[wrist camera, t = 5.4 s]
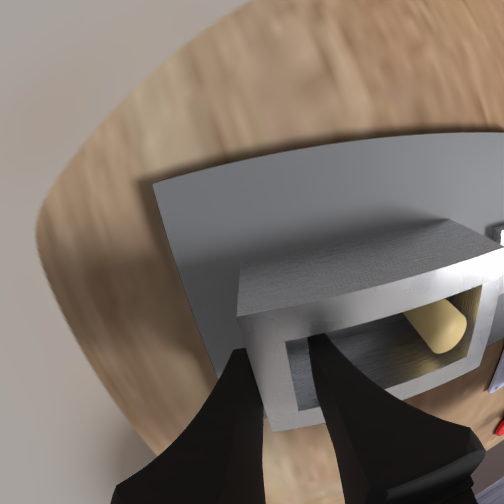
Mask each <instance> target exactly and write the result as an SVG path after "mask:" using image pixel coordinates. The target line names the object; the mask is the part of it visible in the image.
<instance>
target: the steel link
mask: <svg viewBox="0 0 504 504" xmlns="http://www.w3.org/2000/svg"><path fill="white" fill-rule="evenodd" d="M503 265H504V246H503V245H501V244H499V243H497V242H495V241H493V240H491V239H489V238H487V237H486V236H484V235H482V234H480V233H478V232H476V231H474V230H472V229H470V228H467V227H465V226H463V225H461V224H459V223H457V222H455V221H453V220H451V219H448V220H444V221H440V222H435V223H431V224H426V225H422V226H417V227H412V228H408V229H403V230H399V231H394V232H390V233H385V234H380V235H376V236H371V237H367V238H362V239H357V240H353V241H348V242H343V243H339V244H334V245H329V246H324V247H320V248H315V249H310V250H306V251H301V252H296V253H291V254H286V255H282V256H277V257H272V258H267V259H262V260H257V261H253V262H248V263H243V264H240V276H239V290H238V303H237V320H238V324H239V327H240V330H241V334H242V337H243V340H244V344H245V347H246V350H247V354H248V357H249V360H250V364H251V367H252V370H253V373H254V376H255V380H256V383H257V386H258V389H259V392H260V396H261V399H262V402H263V405H264V408H265V411H266V414H267V417H268V420H269V423H270V426H271V429H272V432H279V431H285V430H291V429H297V428H302V427H307V426H312V425H317V424H321V423H326V422H325V419H324V416H323V413H322V410H321V407H320V405H319V402H318V399H317V395H316V390H315V386H314V381H313V377H312V370H311V363H310V356H309V349H308V345H304V346H299V347H294V348H289V349H288V347H287V342H286V341H289V340H294V339H299V338H304V337H308V336H313V335H317V334H322V333H326V332H330V331H335V330H339V329H343V328H347V327H351V326H355V325H358V324H362V323H366V322H370V321H373V320H377V319H380V318H384V317H387V316H391V315H394V314H398V313H401V312H404V311H407V310H411V309H414V308H417V307H420V306H423V305H426V304H429V303H432V302H435V301H438V300H441V299H444V298H446V299H447V300H448V301H449V302H450V303H451V304H452V305H453V306H454V307H455V308H456V309H457V310H458V311H459V312H460V313H461V314H462V315H464V317H465V318H466V322H467V325H466V330H465V332H464V335H463V336H462V338H461V339H460V341H459V342H458V343H457V344H456V345H455V346H454V347H453V348H452V349H450V350H448V351H447V352H444V353H435V352H433V351H432V350H431V348H430V347H429V346H428V344H427V343H426V342H425V341H424V339H423V338H422V337H421V335H420V334H419V333H418V331H417V330H416V329H415V328H414V326H413V325H412V324H411V323H410V321H409V320H408V319H407V318H406V319H403V320H400V321H397V322H393V323H390V324H387V325H383V326H380V327H376V328H373V329H369V330H366V331H362V332H358V333H354V334H351V335H347V336H343V337H339V338H335V339H330V340H331V341H332V342H333V343H334V345H335V346H336V347H337V348H338V349H339V350H340V351H341V352H342V353H343V354H344V355H345V356H346V358H348V359H349V360H350V361H351V362H352V363H353V364H354V365H355V366H356V367H357V368H358V369H359V370H360V371H361V372H363V373H364V374H365V375H366V376H367V377H369V378H370V379H371V380H372V381H374V382H375V383H376V384H377V385H379V386H380V387H382V388H383V389H384V390H386V391H387V392H389V393H390V394H392V395H394V396H395V397H397V398H398V399H400V400H404V399H407V398H409V397H412V396H415V395H417V394H420V393H422V392H425V391H427V390H430V389H432V388H435V387H437V386H439V385H442V384H444V383H446V382H448V381H450V380H453V379H455V378H457V377H459V376H461V375H463V374H465V373H467V372H469V371H471V370H473V369H475V368H477V367H479V366H480V363H481V360H482V357H483V354H484V351H485V347H486V344H487V341H488V337H489V334H490V330H491V326H492V322H493V318H494V314H495V309H496V305H497V300H498V295H499V290H500V284H501V278H502V272H503Z"/></svg>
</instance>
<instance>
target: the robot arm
mask: <svg viewBox="0 0 504 504" xmlns="http://www.w3.org/2000/svg"><path fill="white" fill-rule="evenodd" d="M307 342H308V349H309V356H310V363H311V370H312V377H313V381H314V386H315V390H316V395H317V399H318V402H319V405H320V407H321V410H322V413H323V416H324V419H325V422H326V425H327V428H328V431H329V434H330V437H331V440H332V443H333V446H334V450H335V453H336V458H337V463H338V468H339V472H340V477H341V483H342V488H343V493H344V499H345V504H504V477H503V478H501V479H500V480H498V481H497V482H495V483H494V484H493V485H491V486H489V487H488V488H486V489H485V490H483V491H482V492H480V493H478V494H477V495H475V496H474V493H473V491H472V489H471V487H472V486H473V483H474V482H473V480H472V478H471V476H470V475H471V474H472V473H473V471H474V470H475V469H476V468H477V467H478V465H479V464H480V463H481V462H482V460H483V459H484V456H485V452H486V450H485V449H484V447H483V445H482V443H481V442H480V440H479V439H478V437H477V436H476V435H475V433H474V432H473V431H472V430H471V428H469V427H466V426H462V425H459V424H455V423H452V422H448V421H445V420H442V419H440V418H437V417H435V416H432V415H430V414H427V413H425V412H423V411H421V410H419V409H417V408H415V407H413V406H411V405H409V404H407V403H405V402H403V401H402V400H400V399H398V398H397V397H395V396H394V395H392V394H390V393H389V392H387V391H386V390H384V389H383V388H382V387H380V386H379V385H377V384H376V383H375V382H374V381H372V380H371V379H370V378H369V377H367V376H366V375H365V374H364V373H363V372H361V371H360V370H359V369H358V368H357V367H356V366H355V365H354V364H353V363H352V362H351V361H350V360H349V359H348V358H346V356H345V355H344V354H343V353H342V352H341V351H340V350H339V349H338V348H337V347H336V346H335V345H334V343H333V342H332V341H331V340H330V338H329V337H328V336H327V334H325V333H322V334H317V335H313V336H308V337H307ZM502 386H504V350H503V353H502V356H501V359H500V361H499V364H498V367H497V369H496V372H495V374H494V377H493V379H492V382H491V384H490V386H489V389H488V392H489V394H491V393H493V392H494V391H496V390H498V389H499V388H501V387H502ZM263 416H264V405H263V402H262V399H261V396H260V392H259V389H258V386H257V383H256V380H255V376H254V373H253V370H252V367H251V364H250V360H249V357H248V354H247V350H246V348H240V349H234V350H233V351H232V353H231V355H230V357H229V360H228V362H227V364H226V366H225V368H224V370H223V372H222V374H221V376H220V378H219V380H218V382H217V383H216V385H215V387H214V389H213V391H212V392H211V394H210V395H209V397H208V399H207V400H206V402H205V403H204V405H203V406H202V408H201V409H200V411H199V412H198V414H197V415H196V416H195V418H194V419H193V420H192V421H191V423H190V424H189V425H188V426H187V428H186V429H185V430H184V431H183V432H182V433H181V434H180V435H179V437H178V438H177V439H176V440H175V441H174V442H173V443H172V444H171V445H170V446H169V447H168V448H167V449H166V450H165V451H164V452H162V453H161V454H160V455H159V456H158V457H157V458H155V459H154V460H153V461H152V462H151V463H149V464H148V465H147V466H146V467H144V468H143V469H142V470H140V471H139V472H137V473H136V474H134V475H133V476H131V477H129V478H128V479H126V480H125V481H123V482H121V483H120V484H118V485H117V486H116V488H115V491H114V493H113V496H112V500H111V504H266V501H265V491H264V480H263V467H262V448H263Z"/></svg>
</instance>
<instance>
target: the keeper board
mask: <svg viewBox="0 0 504 504" xmlns="http://www.w3.org/2000/svg"><path fill="white" fill-rule="evenodd" d="M152 185H153V188H154V192H155V196H156V199H157V203H158V207H159V210H160V214H161V217H162V221H163V224H164V227H165V231H166V234H167V237H168V241H169V244H170V247H171V250H172V253H173V257H174V260H175V263H176V266H177V269H178V272H179V275H180V278H181V281H182V284H183V287H184V290H185V293H186V295H187V298H188V301H189V304H190V307H191V310H192V312H193V315H194V318H195V321H196V323H197V326H198V329H199V331H200V334H201V337H202V339H203V342H204V344H205V347H206V350H207V352H208V355H209V357H210V360H211V362H212V365H213V367H214V370H215V372H216V374H217V377H218V379H219V378H220V376H221V374H222V372H223V370H224V368H225V366H226V364H227V362H228V360H229V357H230V355H231V353H232V351H233V350H234V349H240V348H246V347H245V344H244V340H243V337H242V334H241V330H240V327H239V324H238V320H237V303H238V290H239V276H240V264H243V263H248V262H253V261H257V260H262V259H267V258H272V257H277V256H282V255H286V254H291V253H296V252H301V251H306V250H310V249H315V248H320V247H324V246H329V245H334V244H339V243H343V242H348V241H353V240H357V239H362V238H367V237H371V236H376V235H380V234H385V233H390V232H394V231H399V230H403V229H408V228H412V227H417V226H422V225H426V224H431V223H435V222H440V221H444V220H448V219H451V220H453V221H455V222H457V223H459V224H461V225H463V226H465V227H467V228H470V229H472V230H474V231H476V232H478V233H480V234H482V235H484V236H486V237H487V238H489V239H491V240H492V227H494V226H498V225H501V224H504V132H445V133H425V134H410V135H398V136H387V137H377V138H368V139H360V140H352V141H344V142H337V143H330V144H323V145H317V146H311V147H305V148H299V149H293V150H288V151H282V152H277V153H272V154H267V155H262V156H257V157H252V158H248V159H243V160H239V161H234V162H230V163H226V164H221V165H217V166H213V167H209V168H205V169H201V170H197V171H194V172H190V173H186V174H182V175H179V176H175V177H171V178H168V179H164V180H162V181H159V182H156V183H154V184H152ZM406 318H407V319H408V320H409V321H410V323H411V324H412V325H413V326H414V328H415V329H416V330H417V331H418V333H419V334H420V335H421V337H422V338H423V339H424V341H425V342H426V343H427V344H428V346H429V347H430V348H431V350H432V351H433V352H435V353H444V352H447V351H448V350H450V349H452V348H453V347H454V346H455V345H456V344H457V343H458V342H459V341H460V339H461V338H462V336H463V335H464V332H465V330H466V325H467V322H466V318H465V317H464V315H462V314H461V313H460V312H459V311H458V310H457V309H456V308H455V307H454V306H453V305H452V304H451V303H450V302H449V301H448V300H447V299H446V298H444V299H441V300H438V301H435V302H432V303H429V304H426V305H423V306H420V307H417V308H414V309H411V310H407V311H404V312H401V313H398V314H394V315H391V316H387V317H384V318H380V319H377V320H373V321H370V322H366V323H362V324H358V325H355V326H351V327H347V328H343V329H339V330H335V331H330V332H326V333H325V334H327V336H328V337H329V338H330V339H335V338H339V337H343V336H347V335H351V334H354V333H358V332H362V331H366V330H369V329H373V328H376V327H380V326H383V325H387V324H390V323H393V322H397V321H400V320H403V319H406ZM503 338H504V293H503V294H501V295H499V296H498V300H497V305H496V309H495V314H494V318H493V322H492V326H491V330H490V334H489V337H488V341H487V344H486V347H488V346H490V345H492V344H494V343H495V342H497V341H499V340H501V339H503ZM286 342H287V347H288V349H289V348H294V347H299V346H304V345H308V342H307V337H304V338H299V339H294V340H289V341H286ZM486 347H485V348H486ZM266 417H267V414H266V411H265V408H264V416H263V418H266Z"/></svg>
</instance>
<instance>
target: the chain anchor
mask: <svg viewBox="0 0 504 504" xmlns="http://www.w3.org/2000/svg"><path fill="white" fill-rule="evenodd" d="M492 240H493V241H495V242H497V243H499V244H501V245H503V246H504V224H501V225H498V226H494V227H492ZM503 293H504V265H503V272H502V278H501V284H500V290H499V295H501V294H503ZM499 295H498V296H499Z"/></svg>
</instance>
